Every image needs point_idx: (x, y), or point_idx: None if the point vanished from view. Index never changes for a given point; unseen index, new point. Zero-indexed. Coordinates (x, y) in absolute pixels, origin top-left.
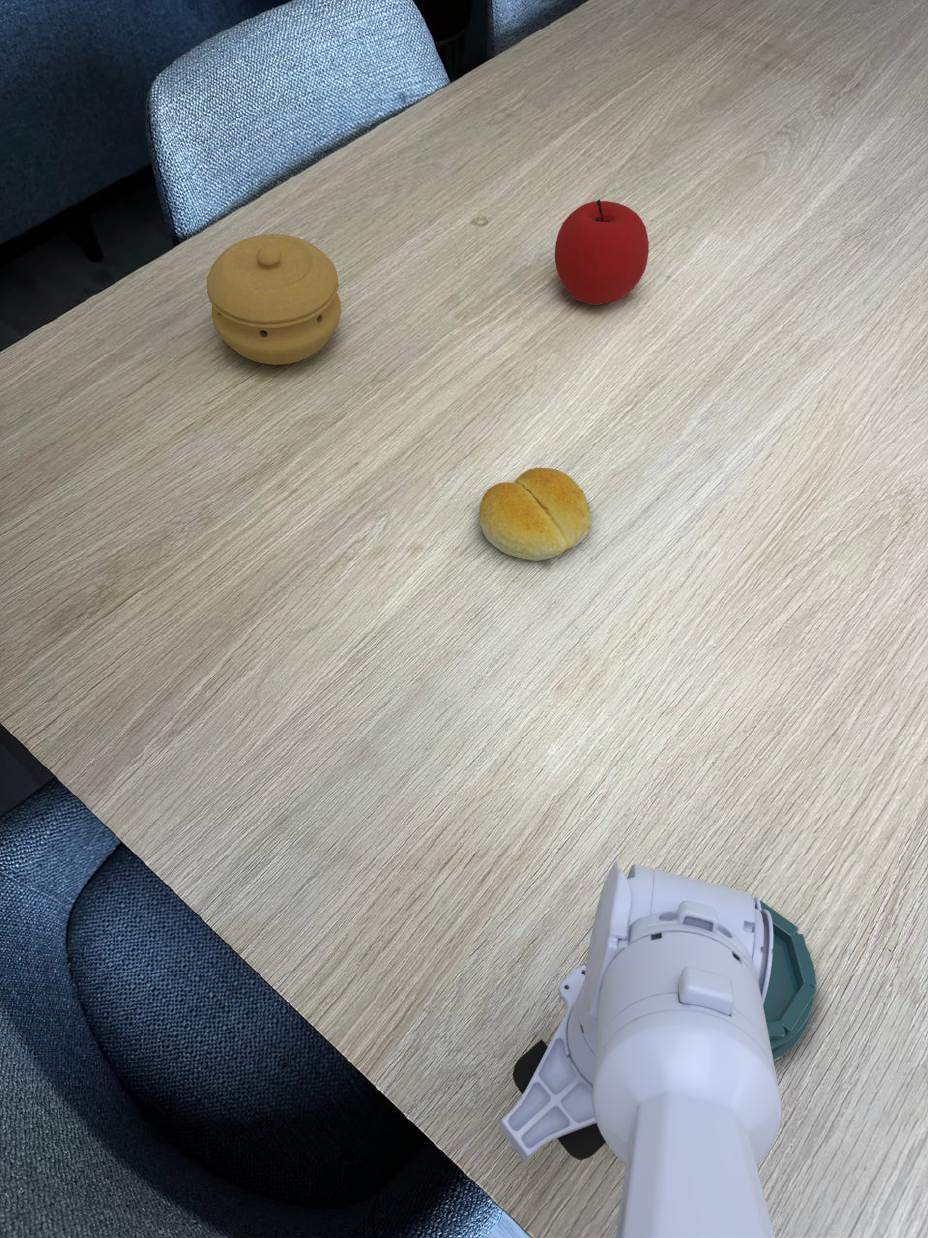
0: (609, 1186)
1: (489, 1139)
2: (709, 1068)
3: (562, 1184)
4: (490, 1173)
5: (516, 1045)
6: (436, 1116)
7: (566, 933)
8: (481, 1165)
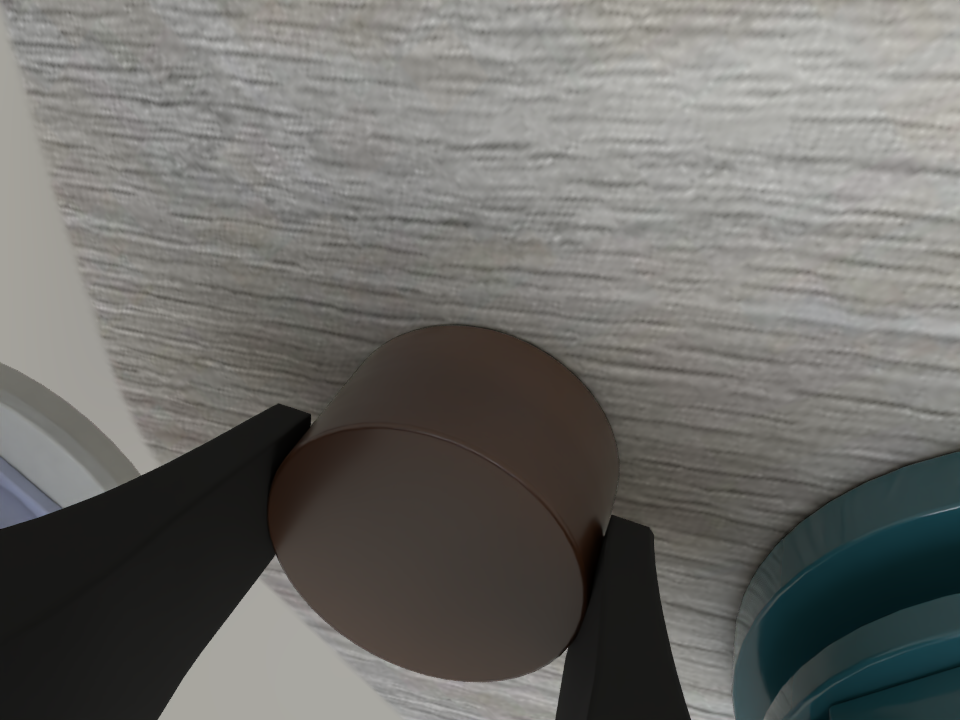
0: None
1: (152, 267)
2: None
3: None
4: (109, 312)
5: (393, 185)
6: (57, 93)
7: (945, 91)
8: (100, 283)
